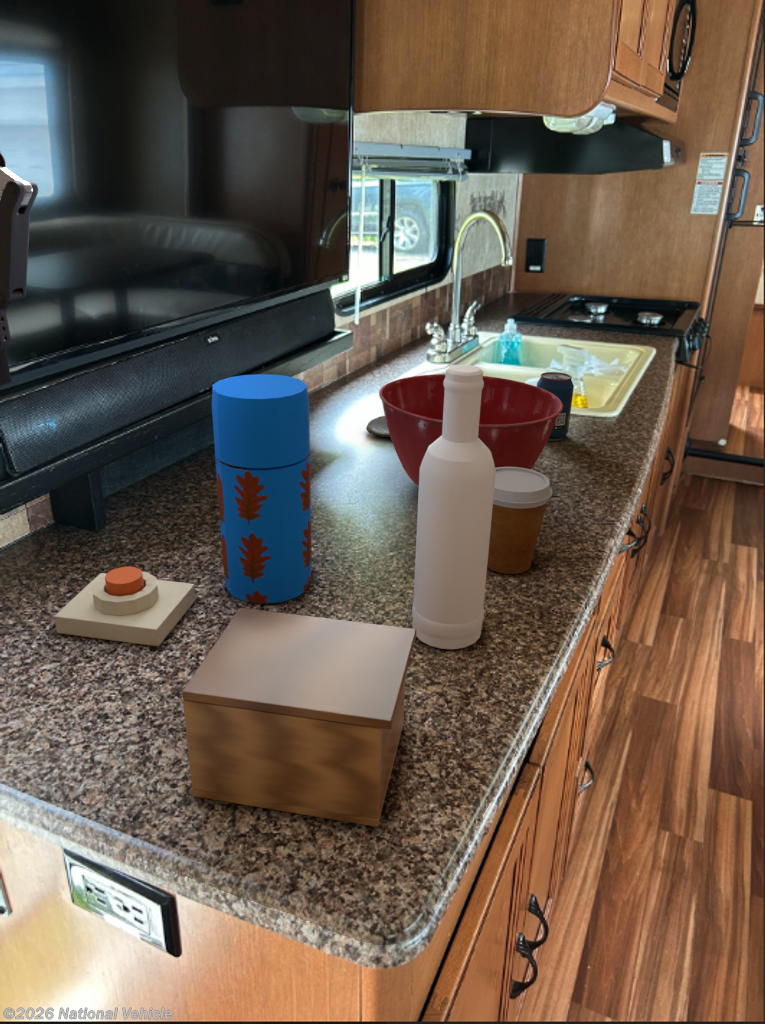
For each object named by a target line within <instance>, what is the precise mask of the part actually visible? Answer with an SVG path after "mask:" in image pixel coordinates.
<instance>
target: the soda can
mask: <svg viewBox="0 0 765 1024" xmlns="http://www.w3.org/2000/svg"><path fill="white" fill-rule="evenodd" d="M536 386H537V387H539V388H542V389H544V390H546V391H549V392H551V393H552V394H554V395H555V396H557V397H558V398H559V399H560V400H561V402H562V404H563V409H562V411H561V412H560V413H559V414H558V417H557V419H556V422H555V424H554V427H553V429H552V432H551V434H550V436H549V438H548V441H550V442H555V441H556V442H557V441H561V440H563V439H565V437H566V436H567V434H568V433H569V428H570V419H571V414H572V413H571V411H572V404H573V398H574V397H573V396H574V395H573V394H574V389H575V385H574V383H573V380H572V375H570V374H568V373H565V372H557V371H546V372H543V373H541V374H540V377H539V379H538V380H537V382H536ZM548 441H547V442H548Z"/></svg>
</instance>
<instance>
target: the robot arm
mask: <svg viewBox="0 0 765 1024" xmlns="http://www.w3.org/2000/svg"><path fill="white" fill-rule="evenodd" d="M7 165H8V164H7V160H6V158H5V156H4V155H3V153H2V152H1V150H0V387H3V386H5V385H7V384H10V383H12V376H11V370H10V366H9V365H10V364H9V360H8V353H7V349H6V348H9V347H11V344H12V336H11V331H10V325H9V320H8V315H7V313H8V312H7V310H8V307H9V306H11V305H13V304H15V303H18V302H22V301H25V299H26V297H27V286H28V285H27V284H28V283H27V281H28V262H29V241H30V222H31V211H32V208H33V206H34V203H35V201H36V198H37V196H38V194H39V186H38V184H37V183H36V182H35V181H34V180H29V179H28V180H24V179H23V178H21V177H19V176H18V175H16V174H15V173H14V172H13V171H11V170H10V169H9V168H8V166H7Z"/></svg>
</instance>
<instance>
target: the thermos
mask: <svg viewBox="0 0 765 1024" xmlns="http://www.w3.org/2000/svg"><path fill="white" fill-rule="evenodd" d="M211 414H212V431H213V444H214V445H213V446H214V456H215V459H214V460H215V472H216V486H217V500H218V514H219V516H218V517H219V528H220V542H221V557H222V558H221V559H222V566H223V573H224V582H225V588H226V590H227V591H228V593H229V594H230V596H232V597H234V598H236V599H238V600H240V601H243V602H246V603H252V604H267V605H268V604H271V605H272V604H275V603H276V604H277V603H282V602H283V603H284V602H287V601H289V600H292V599H295V598H297V597H299V596H300V595H302V594H303V593H305V592H306V591H307V589H308V588H309V586H310V584H311V576H312V557H313V555H312V506H311V505H312V504H311V503H312V499H311V498H312V495H311V490H312V489H311V454H310V453H311V438H310V437H311V436H310V435H311V434H310V427H311V426H310V398H309V392H308V386H307V383H306V382H305V381H303V380H301V379H300V378H296V377H292V376H288V375H280V374H265V373H264V374H263V373H262V374H261V373H257V374H243V375H236V376H230V377H227V378H224V379H220V380H218V381H216V382H215V383H213V384H212V393H211Z"/></svg>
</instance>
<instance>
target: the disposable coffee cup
mask: <svg viewBox="0 0 765 1024" xmlns="http://www.w3.org/2000/svg"><path fill="white" fill-rule="evenodd" d="M495 470H496V475H495V486H494V497H493V508H492V519H491V530H490V541H489V552H488V563H487V569H489V570H491V571H494V572H495V573H496V572H497V573H501V574H507V575H515V574H517V575H518V574H521V573H525V572H526V571H528V570H529V569H530V568H531V565H532V562H533V557H534V554H535V550H536V546H537V542H538V538H539V535H540V531H541V528H542V522H543V521H544V515H545V512H546V508H547V504H548V502H549V501H550V498H551V497H552V496H553V489H552V487H551V482H550V479H549V478H548V477H547V476H546V475H545V474H544V473H542V472H539V471H537V470H534V469H531V470H530V469H526V468H519V467H498V468H495Z"/></svg>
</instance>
